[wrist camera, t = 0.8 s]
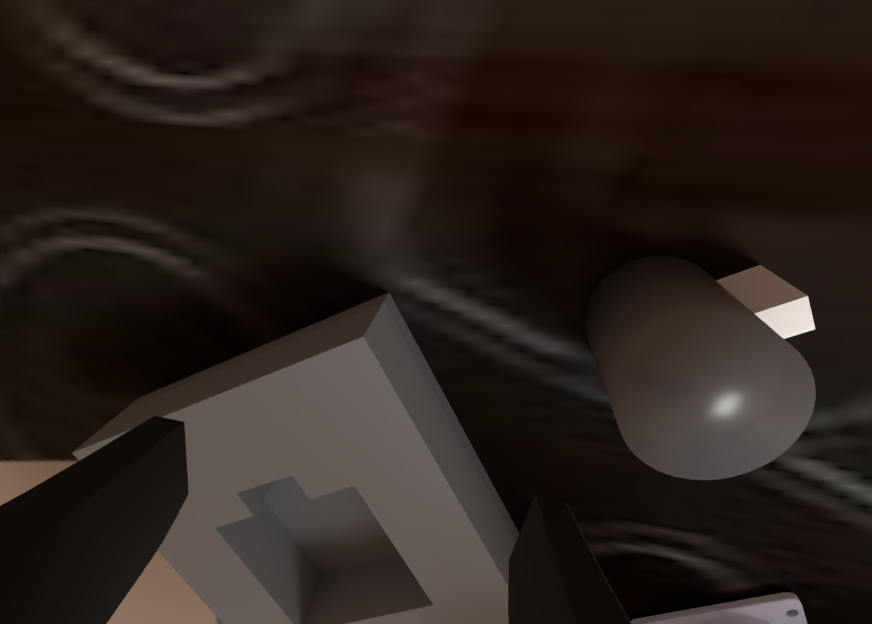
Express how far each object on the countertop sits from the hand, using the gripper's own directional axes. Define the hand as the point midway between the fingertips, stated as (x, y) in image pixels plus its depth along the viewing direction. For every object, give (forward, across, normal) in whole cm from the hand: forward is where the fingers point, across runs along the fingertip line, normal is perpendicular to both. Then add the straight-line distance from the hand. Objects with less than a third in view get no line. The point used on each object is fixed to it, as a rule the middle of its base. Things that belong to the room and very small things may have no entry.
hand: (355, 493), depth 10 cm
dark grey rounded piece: (+10, -9, -1) cm, 14 cm away
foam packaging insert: (+10, +1, +12) cm, 16 cm away
